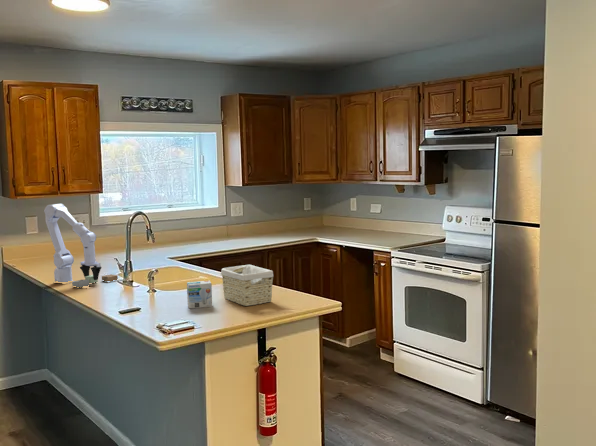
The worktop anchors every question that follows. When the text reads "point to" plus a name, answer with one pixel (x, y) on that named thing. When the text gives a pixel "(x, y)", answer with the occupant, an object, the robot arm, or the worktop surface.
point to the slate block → (80, 283)
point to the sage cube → (90, 279)
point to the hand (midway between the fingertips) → (91, 279)
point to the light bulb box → (199, 294)
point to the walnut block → (109, 277)
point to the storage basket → (247, 284)
